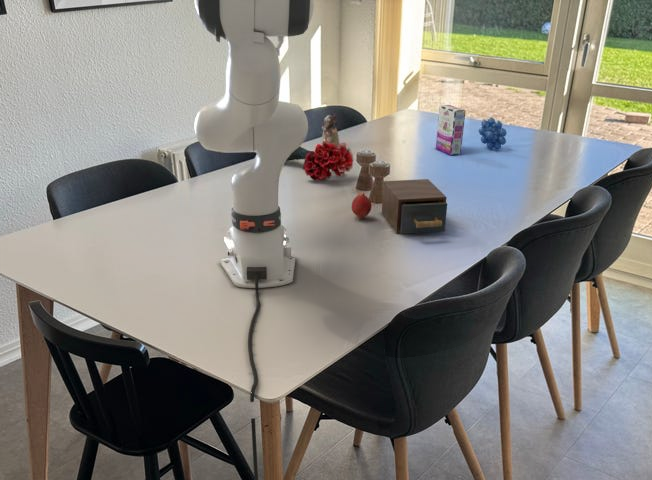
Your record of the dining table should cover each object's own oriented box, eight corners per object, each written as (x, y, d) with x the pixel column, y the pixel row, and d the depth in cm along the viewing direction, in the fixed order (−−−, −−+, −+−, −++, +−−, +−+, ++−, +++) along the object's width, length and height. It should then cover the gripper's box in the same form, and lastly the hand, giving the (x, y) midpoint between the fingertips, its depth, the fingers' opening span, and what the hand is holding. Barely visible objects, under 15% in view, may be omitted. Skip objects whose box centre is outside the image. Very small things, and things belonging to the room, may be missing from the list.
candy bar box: (461, 154, 267) (466, 110, 259) (450, 155, 265) (455, 111, 257) (445, 147, 276) (449, 104, 267) (435, 148, 274) (438, 105, 266)
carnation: (277, 183, 259) (350, 198, 238) (246, 157, 244) (321, 172, 223) (294, 145, 260) (368, 157, 239) (265, 117, 245) (341, 128, 224)
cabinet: (443, 230, 198) (446, 196, 193) (396, 233, 196) (398, 199, 191) (425, 210, 213) (428, 178, 207) (381, 213, 210) (383, 181, 205)
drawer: (450, 237, 191) (453, 209, 187) (406, 240, 189) (408, 212, 185) (427, 212, 209) (430, 186, 205) (386, 214, 207) (388, 188, 202)
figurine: (318, 144, 277) (318, 113, 270) (335, 143, 279) (336, 112, 272) (323, 149, 271) (323, 117, 265) (341, 148, 273) (341, 116, 267)
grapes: (472, 149, 274) (475, 117, 268) (479, 145, 279) (483, 114, 273) (499, 154, 268) (504, 121, 262) (507, 150, 273) (511, 118, 267)
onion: (347, 219, 205) (348, 193, 201) (356, 213, 209) (357, 187, 205) (365, 223, 203) (366, 196, 199) (374, 217, 207) (375, 190, 203)
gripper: (213, -4, 168) (217, 58, 175) (297, -4, 171) (298, 57, 178) (212, -6, 173) (216, 55, 180) (293, -6, 177) (294, 53, 184)
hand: (258, 56), depth 179 cm, fingers open, 8 cm apart
